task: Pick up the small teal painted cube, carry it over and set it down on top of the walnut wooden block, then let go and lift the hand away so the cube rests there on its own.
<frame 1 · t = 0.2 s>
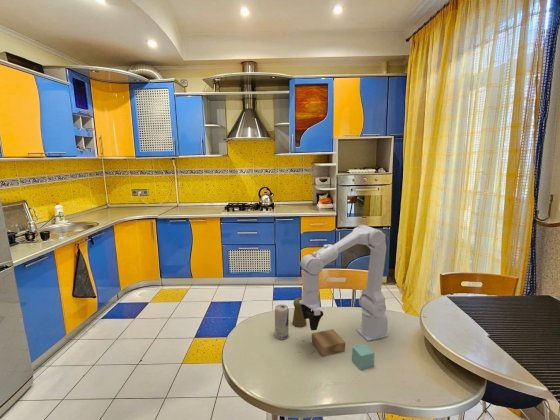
hand: (310, 323, 110), 10 cm above the table, tool pointing down, fingers open, 7 cm apart
cork: (299, 324, 128), on the table
teal cube: (362, 363, 104), on the table
walnut block: (327, 347, 113), on the table
energy drink: (281, 336, 120), on the table
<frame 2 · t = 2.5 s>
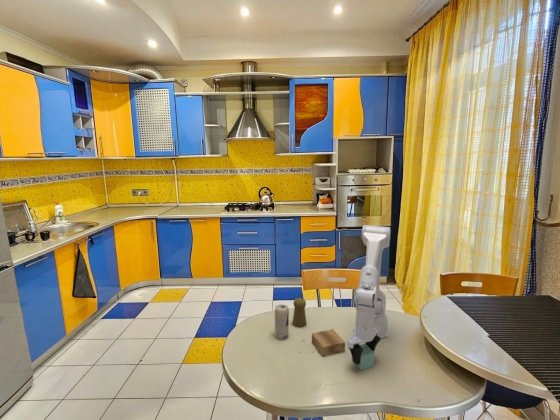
hand: (362, 359, 103), 2 cm above the table, tool pointing down, fingers closed on teal cube, 6 cm apart
teal cube: (362, 363, 104), on the table, touching gripper
everything else where it was.
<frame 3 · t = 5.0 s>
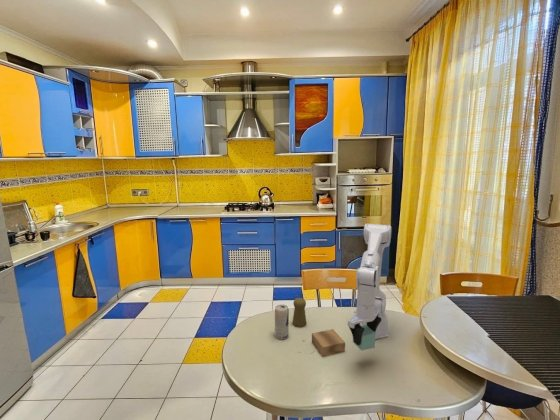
hand: (363, 340, 102), 9 cm above the table, tool pointing down, fingers closed on teal cube, 6 cm apart
teal cube: (363, 344, 102), point 7 cm above the table, touching gripper
everything else where it was.
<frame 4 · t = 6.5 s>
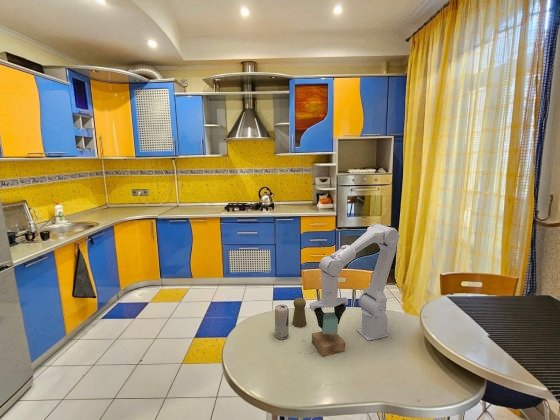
hand: (328, 324, 111), 9 cm above the table, tool pointing down, fingers closed on teal cube, 6 cm apart
teal cube: (328, 329, 111), point 7 cm above the table, touching gripper
everything else where it was.
when the fingers open (6 cm above the table, at t = 7.7 s): teal cube stays where it is, resting on walnut block.
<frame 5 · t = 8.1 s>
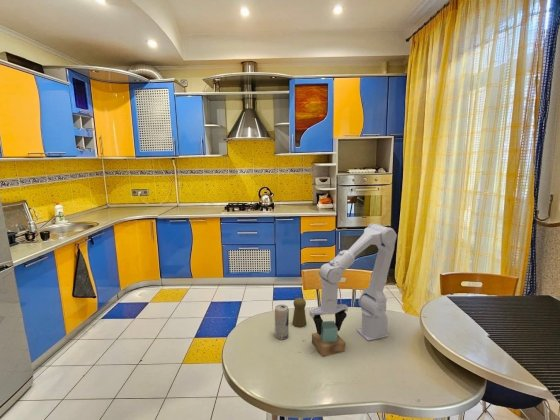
hand: (328, 331, 112), 6 cm above the table, tool pointing down, fingers open, 7 cm apart
teal cube: (328, 338, 112), point 4 cm above the table, touching walnut block
walnut block: (327, 347, 113), on the table, touching teal cube
everything else where it was.
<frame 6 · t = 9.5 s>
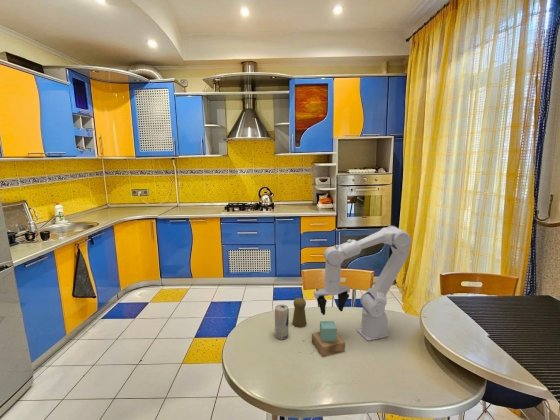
hand: (331, 311, 117), 10 cm above the table, tool pointing down, fingers open, 7 cm apart
teal cube: (327, 337, 112), point 4 cm above the table
walnut block: (327, 347, 113), on the table
everything else where it was.
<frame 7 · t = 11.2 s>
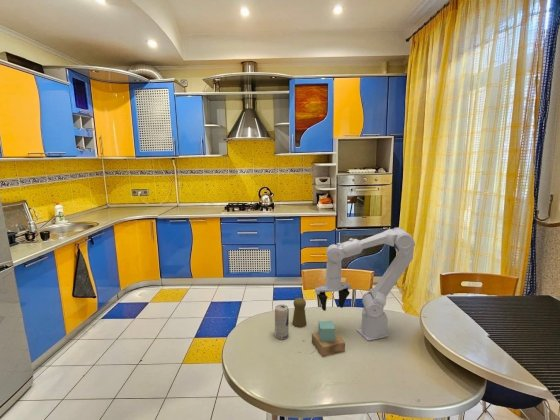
hand: (332, 308, 120), 10 cm above the table, tool pointing down, fingers open, 7 cm apart
teal cube: (326, 337, 112), point 4 cm above the table, touching walnut block
walnut block: (327, 347, 113), on the table, touching teal cube
everything else where it was.
at the end: teal cube 0.7 cm off-centre on the walnut block, point 4.0 cm above the walnut block's base; teal cube tilted 0°; the gripper is holding nothing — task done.
